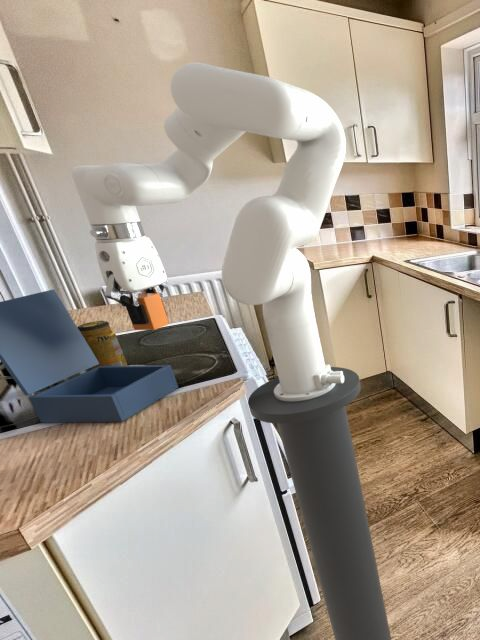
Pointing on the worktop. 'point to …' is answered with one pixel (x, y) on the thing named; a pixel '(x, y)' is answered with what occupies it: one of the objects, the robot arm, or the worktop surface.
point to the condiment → (103, 343)
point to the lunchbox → (104, 394)
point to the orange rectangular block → (152, 311)
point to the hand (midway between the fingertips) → (150, 319)
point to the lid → (41, 341)
